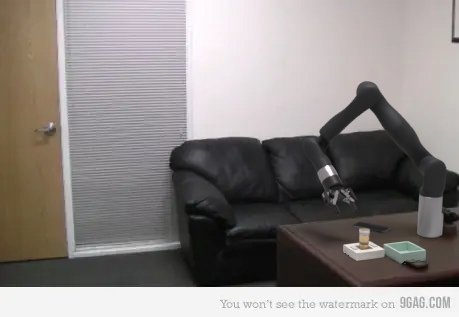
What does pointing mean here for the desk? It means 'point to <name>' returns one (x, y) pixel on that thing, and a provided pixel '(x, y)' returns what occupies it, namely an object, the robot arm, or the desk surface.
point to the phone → (371, 227)
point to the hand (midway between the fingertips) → (347, 212)
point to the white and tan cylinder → (364, 238)
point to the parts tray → (404, 251)
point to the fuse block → (363, 251)
